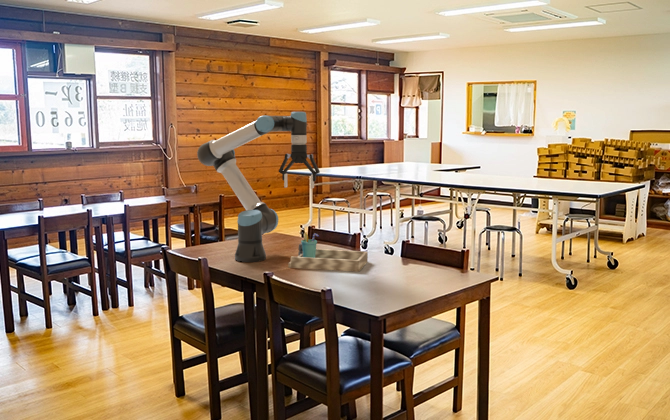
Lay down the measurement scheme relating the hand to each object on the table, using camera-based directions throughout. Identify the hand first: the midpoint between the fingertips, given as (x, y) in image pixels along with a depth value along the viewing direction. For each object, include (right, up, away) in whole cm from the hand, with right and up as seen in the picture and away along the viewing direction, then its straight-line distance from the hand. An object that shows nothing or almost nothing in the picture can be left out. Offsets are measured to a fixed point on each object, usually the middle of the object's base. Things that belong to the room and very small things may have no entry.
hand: (299, 187), depth 306 cm
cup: (+6, -36, -9) cm, 38 cm away
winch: (+3, -34, +8) cm, 35 cm away
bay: (+15, -37, -11) cm, 41 cm away
